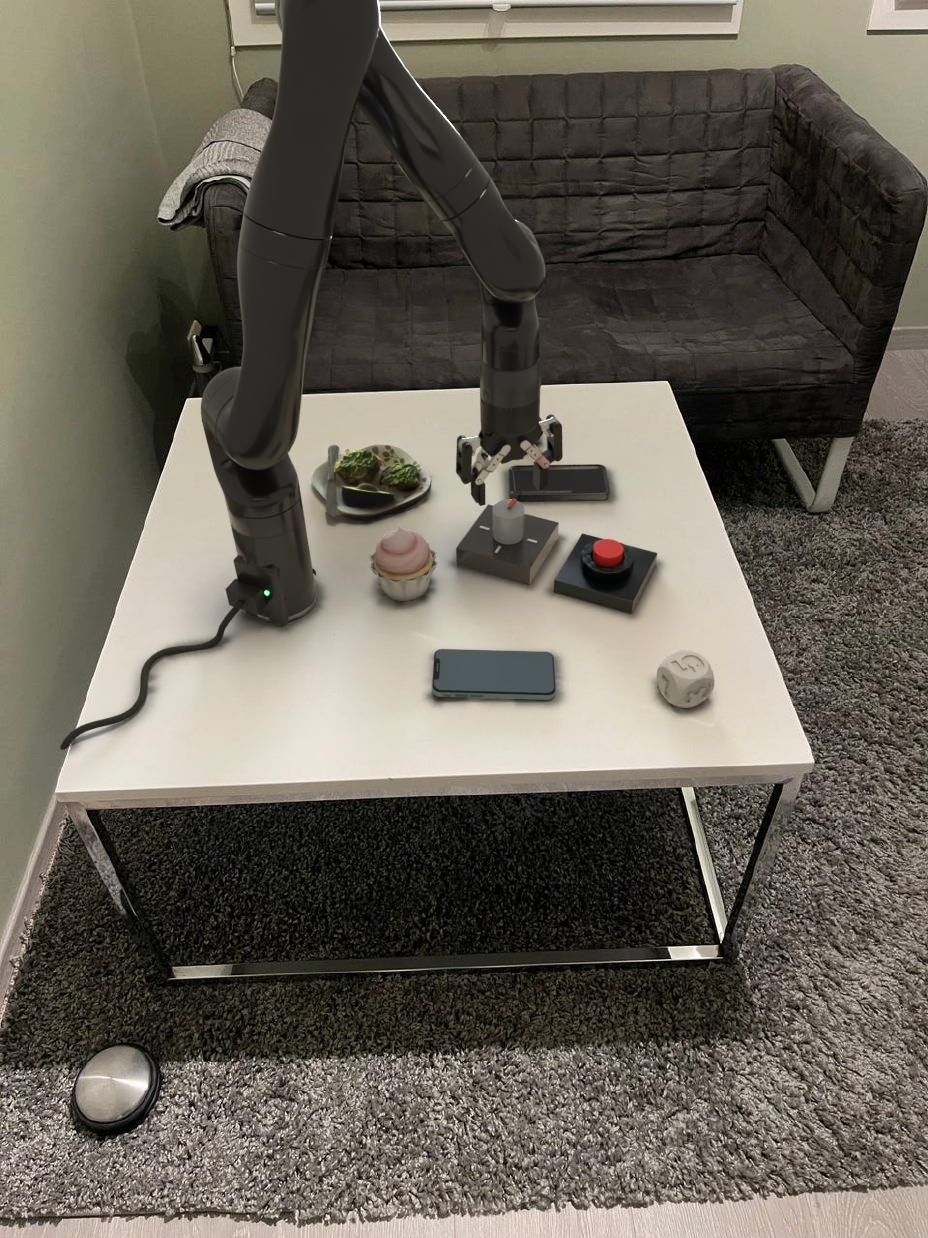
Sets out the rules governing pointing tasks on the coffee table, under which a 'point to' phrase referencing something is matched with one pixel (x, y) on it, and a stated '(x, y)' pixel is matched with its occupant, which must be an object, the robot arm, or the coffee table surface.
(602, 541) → the button
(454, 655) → the smartphone
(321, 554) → the coffee table surface
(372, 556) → the cupcake
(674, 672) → the die
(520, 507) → the hob knob
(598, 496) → the phone
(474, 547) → the hob panel
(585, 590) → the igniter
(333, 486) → the salad plate
